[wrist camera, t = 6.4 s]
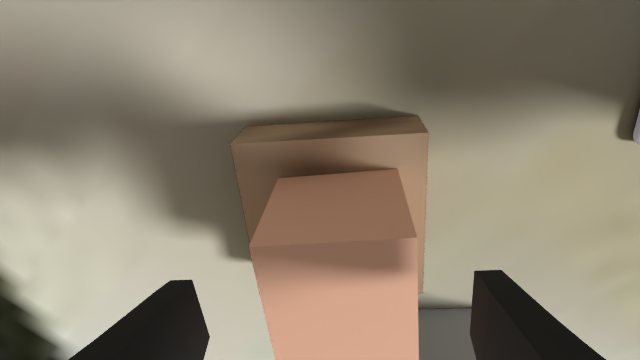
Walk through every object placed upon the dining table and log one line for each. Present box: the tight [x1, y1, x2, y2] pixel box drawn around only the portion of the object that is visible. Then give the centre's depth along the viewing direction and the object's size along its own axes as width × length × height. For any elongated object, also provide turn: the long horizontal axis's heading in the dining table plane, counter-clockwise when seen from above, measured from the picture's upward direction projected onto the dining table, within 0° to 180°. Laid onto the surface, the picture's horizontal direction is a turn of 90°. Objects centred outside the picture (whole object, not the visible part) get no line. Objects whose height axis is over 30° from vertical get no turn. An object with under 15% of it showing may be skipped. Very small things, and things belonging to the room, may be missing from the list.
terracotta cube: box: [249, 169, 419, 360], centre depth 14 cm, size 5×5×5 cm
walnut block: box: [230, 116, 429, 294], centre depth 18 cm, size 8×8×3 cm
